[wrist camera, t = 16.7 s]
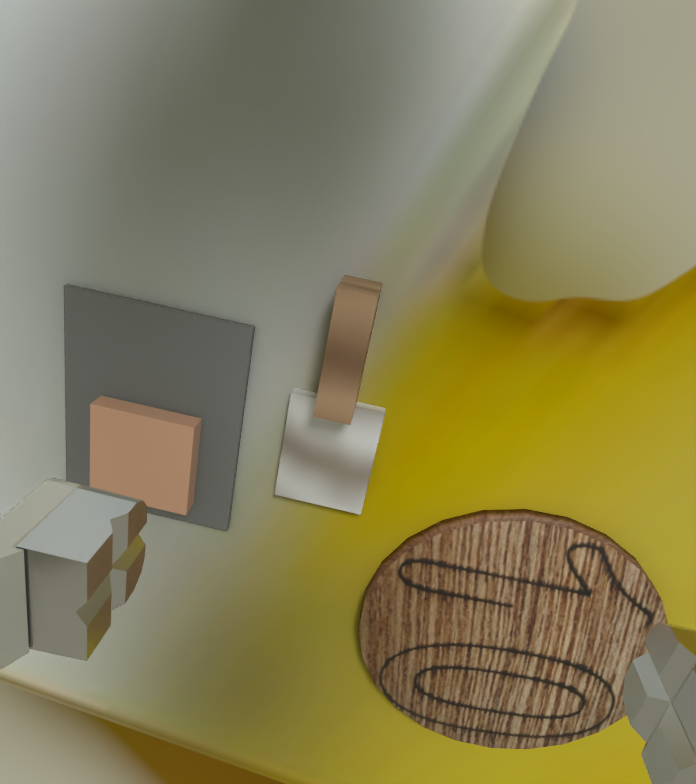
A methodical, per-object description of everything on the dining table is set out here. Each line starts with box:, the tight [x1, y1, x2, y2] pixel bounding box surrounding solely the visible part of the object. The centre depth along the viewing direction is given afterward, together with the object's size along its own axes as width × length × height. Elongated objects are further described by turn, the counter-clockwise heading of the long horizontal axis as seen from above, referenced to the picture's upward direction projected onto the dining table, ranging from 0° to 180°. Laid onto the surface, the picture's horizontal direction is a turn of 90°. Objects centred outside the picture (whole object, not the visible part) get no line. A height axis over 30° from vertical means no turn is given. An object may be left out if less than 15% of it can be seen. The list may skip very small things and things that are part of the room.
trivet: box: [359, 509, 668, 749], centre depth 48 cm, size 25×25×2 cm
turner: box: [274, 275, 386, 515], centre depth 40 cm, size 18×7×4 cm, turn 169°
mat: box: [64, 285, 255, 531], centre depth 44 cm, size 18×14×1 cm
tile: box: [90, 395, 202, 515], centre depth 44 cm, size 2×8×8 cm
